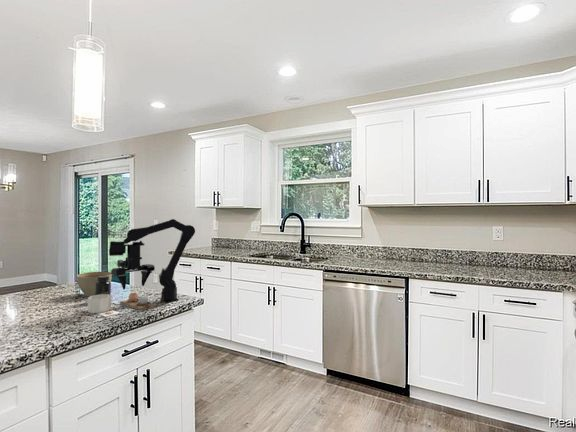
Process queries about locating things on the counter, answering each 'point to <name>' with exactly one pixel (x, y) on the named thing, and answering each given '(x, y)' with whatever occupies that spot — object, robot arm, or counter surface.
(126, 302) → the stand
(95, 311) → the cup
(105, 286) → the supplement bottle
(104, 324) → the counter surface
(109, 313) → the tile
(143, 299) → the ball grey
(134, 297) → the ball terracotta
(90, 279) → the planter bowl
